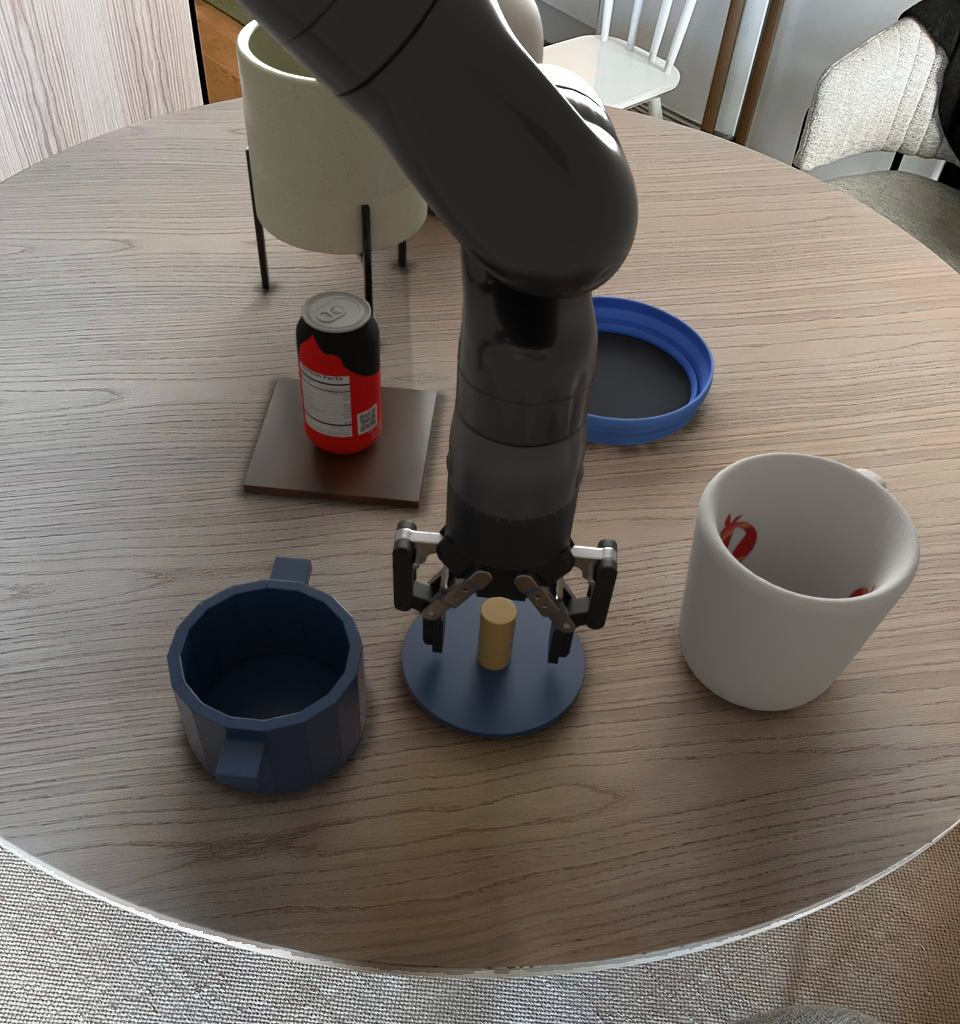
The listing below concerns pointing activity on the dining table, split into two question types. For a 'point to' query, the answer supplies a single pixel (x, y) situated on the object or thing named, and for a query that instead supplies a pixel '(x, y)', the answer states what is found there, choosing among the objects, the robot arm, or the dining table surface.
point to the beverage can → (339, 372)
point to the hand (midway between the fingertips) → (495, 648)
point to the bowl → (644, 373)
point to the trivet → (352, 477)
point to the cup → (790, 576)
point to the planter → (317, 165)
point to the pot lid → (492, 670)
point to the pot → (270, 682)
